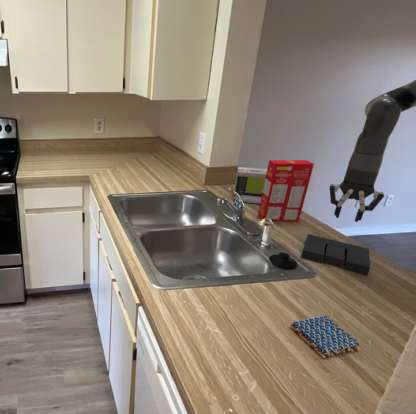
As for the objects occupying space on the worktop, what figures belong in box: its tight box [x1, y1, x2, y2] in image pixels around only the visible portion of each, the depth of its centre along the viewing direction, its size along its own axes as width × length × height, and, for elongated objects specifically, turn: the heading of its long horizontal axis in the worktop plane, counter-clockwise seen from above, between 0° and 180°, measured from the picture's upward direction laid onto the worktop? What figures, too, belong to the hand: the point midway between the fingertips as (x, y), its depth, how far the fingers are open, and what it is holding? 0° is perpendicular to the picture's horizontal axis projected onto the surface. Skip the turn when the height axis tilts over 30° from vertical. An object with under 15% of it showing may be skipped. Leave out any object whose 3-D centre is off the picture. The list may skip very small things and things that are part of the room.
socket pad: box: [300, 233, 371, 276], centre depth 112 cm, size 18×14×3 cm
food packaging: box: [257, 159, 315, 223], centre depth 135 cm, size 15×5×25 cm, turn 88°
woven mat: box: [289, 315, 360, 359], centre depth 79 cm, size 10×11×2 cm
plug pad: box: [322, 244, 345, 269], centre depth 111 cm, size 5×9×3 cm, turn 144°
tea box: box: [233, 166, 268, 205], centre depth 157 cm, size 15×10×15 cm
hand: (346, 218), depth 105 cm, fingers open, 4 cm apart
